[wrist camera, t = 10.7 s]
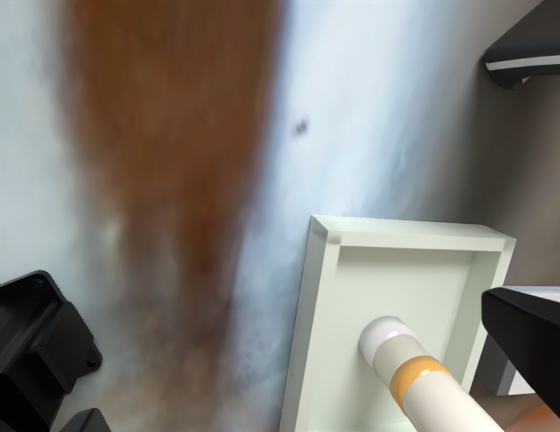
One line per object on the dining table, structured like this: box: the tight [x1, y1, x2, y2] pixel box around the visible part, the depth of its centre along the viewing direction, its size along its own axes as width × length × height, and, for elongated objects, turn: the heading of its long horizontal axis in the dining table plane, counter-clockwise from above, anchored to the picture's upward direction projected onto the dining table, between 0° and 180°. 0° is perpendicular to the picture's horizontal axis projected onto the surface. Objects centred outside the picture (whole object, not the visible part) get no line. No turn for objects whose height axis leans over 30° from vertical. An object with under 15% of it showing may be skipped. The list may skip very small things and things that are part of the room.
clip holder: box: [474, 286, 560, 396], centre depth 27 cm, size 7×7×3 cm
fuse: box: [358, 316, 504, 432], centre depth 19 cm, size 4×4×12 cm
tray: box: [279, 215, 517, 432], centre depth 24 cm, size 12×16×3 cm
